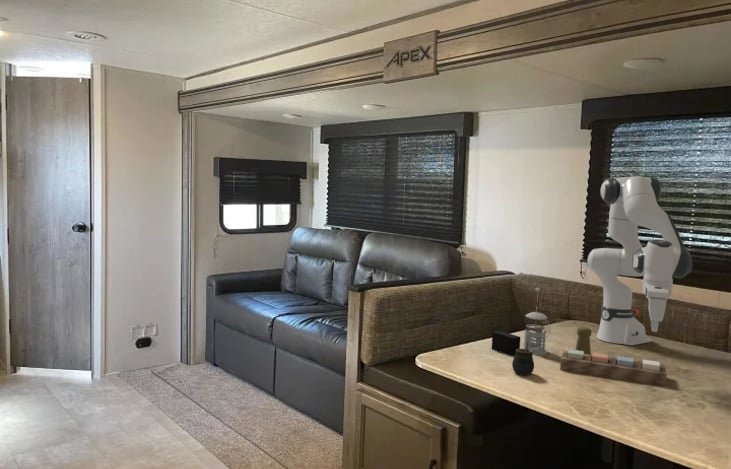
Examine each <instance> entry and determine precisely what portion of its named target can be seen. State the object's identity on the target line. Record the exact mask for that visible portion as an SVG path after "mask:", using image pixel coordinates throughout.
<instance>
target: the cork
mask: <svg viewBox="0 0 731 469" xmlns="http://www.w3.org/2000/svg"><path fill="white" fill-rule="evenodd" d="M576 334H577V336H578V337H577V341H576V345H575V349H574V350H579V351H584V354H589V355H592V351H591V350H592V349H591V336H592V329H591V328H589V327H586V326H580V327H577V329H576Z"/></svg>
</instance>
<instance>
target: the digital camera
mask: <svg viewBox="0 0 731 469" xmlns="http://www.w3.org/2000/svg"><path fill="white" fill-rule="evenodd" d="M491 335H492V336H491V350H492V351H496V352H499V353H502V354H504V355H508V356H510V357H513V356H514V357H515V354H516V353H515V352H516V349H521V336H519V335H515V334H512V333H509V332H507V331H502V330H497V331H492V333H491Z"/></svg>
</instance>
